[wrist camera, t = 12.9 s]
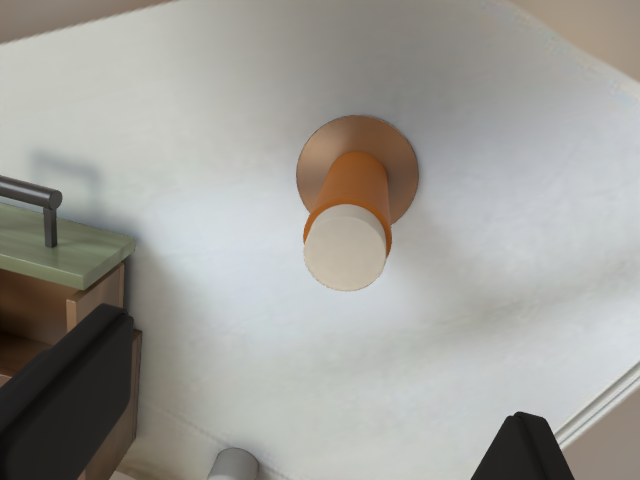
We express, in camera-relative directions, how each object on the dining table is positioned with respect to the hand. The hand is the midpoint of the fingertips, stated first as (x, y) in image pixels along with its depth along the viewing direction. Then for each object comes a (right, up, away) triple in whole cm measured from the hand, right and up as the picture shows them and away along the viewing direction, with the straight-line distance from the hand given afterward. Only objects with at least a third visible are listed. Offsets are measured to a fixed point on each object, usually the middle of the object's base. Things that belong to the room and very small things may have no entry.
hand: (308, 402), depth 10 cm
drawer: (-23, +2, +27) cm, 35 cm away
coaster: (+3, +9, +21) cm, 23 cm away
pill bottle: (+3, +8, +21) cm, 23 cm away
